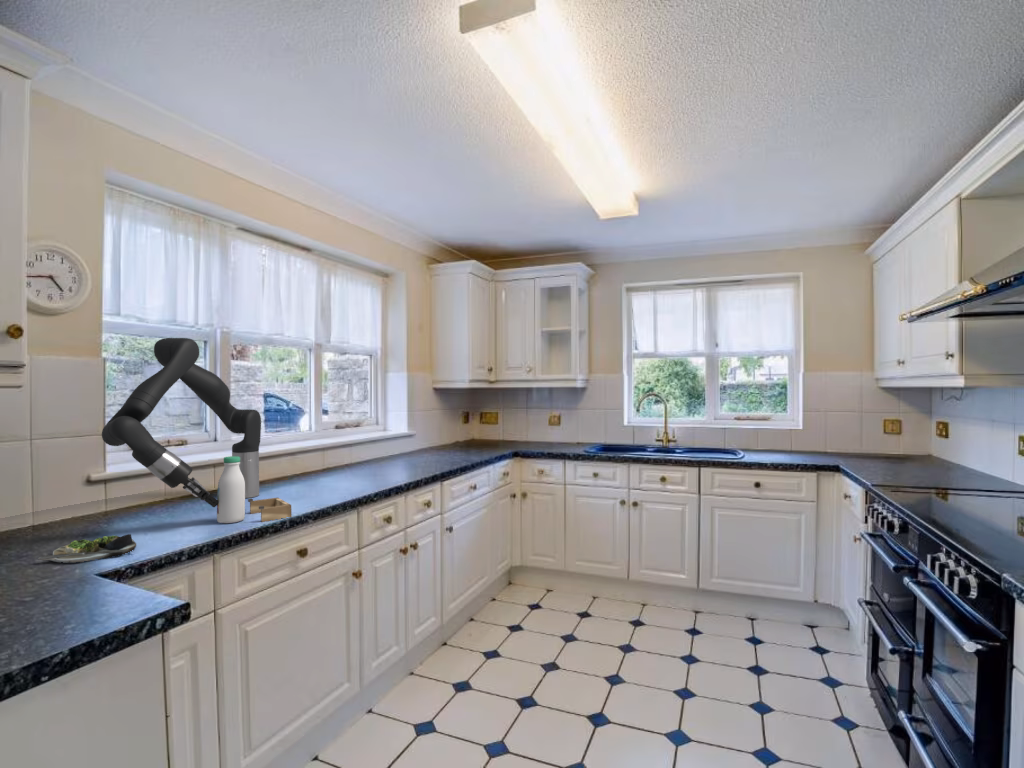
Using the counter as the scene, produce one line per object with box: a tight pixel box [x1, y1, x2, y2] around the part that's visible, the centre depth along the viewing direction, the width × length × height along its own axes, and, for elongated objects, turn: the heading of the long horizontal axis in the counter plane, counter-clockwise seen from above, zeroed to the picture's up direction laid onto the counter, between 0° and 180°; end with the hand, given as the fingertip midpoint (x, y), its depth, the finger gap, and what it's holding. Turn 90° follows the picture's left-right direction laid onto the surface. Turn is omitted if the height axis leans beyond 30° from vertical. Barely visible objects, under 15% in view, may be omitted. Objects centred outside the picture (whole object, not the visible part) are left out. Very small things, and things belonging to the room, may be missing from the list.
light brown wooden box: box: [247, 497, 292, 523], centre depth 174 cm, size 15×9×5 cm, turn 39°
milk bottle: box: [216, 455, 246, 524], centre depth 168 cm, size 8×8×20 cm
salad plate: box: [37, 533, 137, 564], centre depth 136 cm, size 19×18×5 cm
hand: (216, 504), depth 165 cm, fingers closed
